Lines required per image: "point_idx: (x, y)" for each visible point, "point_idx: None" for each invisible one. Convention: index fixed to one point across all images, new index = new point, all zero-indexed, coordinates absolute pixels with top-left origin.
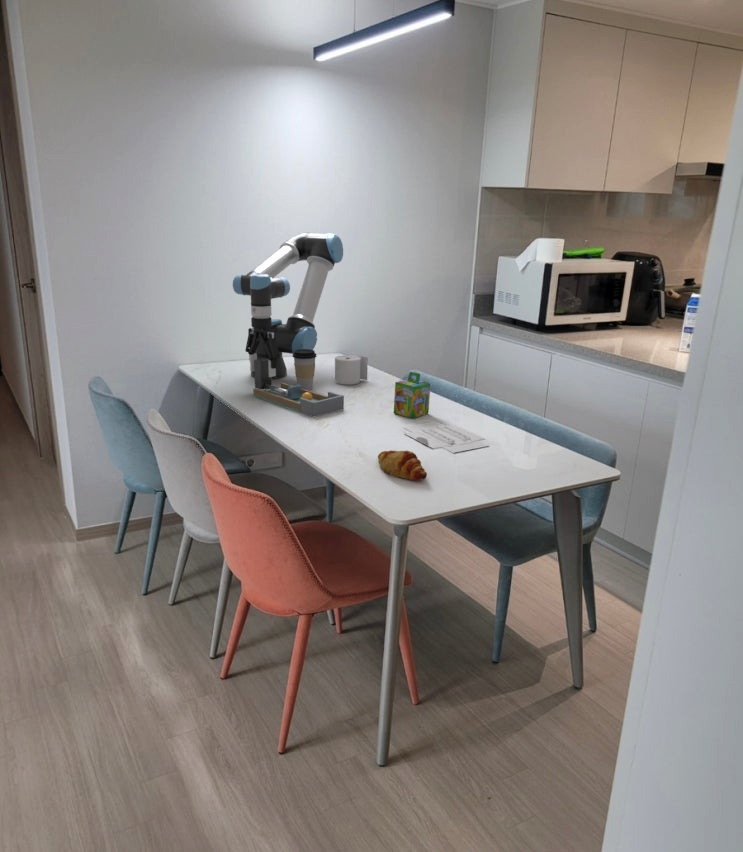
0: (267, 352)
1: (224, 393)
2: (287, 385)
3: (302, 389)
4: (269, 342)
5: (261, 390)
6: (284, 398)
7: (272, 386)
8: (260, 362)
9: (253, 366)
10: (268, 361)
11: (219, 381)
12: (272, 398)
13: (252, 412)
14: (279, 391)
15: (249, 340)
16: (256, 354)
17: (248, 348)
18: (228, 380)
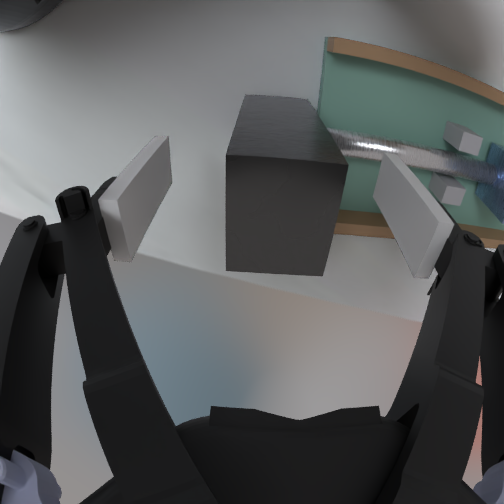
0: (422, 329)
1: (182, 256)
2: (400, 66)
3: (498, 100)
4: (486, 429)
5: (362, 228)
6: (490, 245)
7: (369, 155)
8: (321, 270)
9: (160, 181)
10: (338, 189)
11: (20, 176)
12: None
13: (419, 311)
14: (448, 203)
15: (50, 383)
16: (118, 200)
17: (56, 287)
18: (18, 141)
